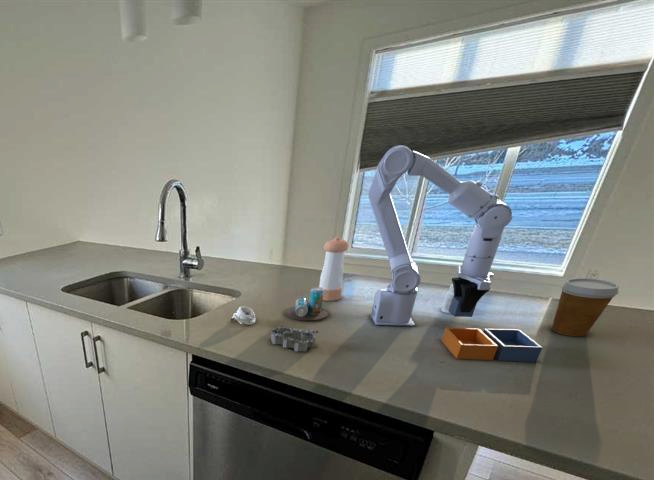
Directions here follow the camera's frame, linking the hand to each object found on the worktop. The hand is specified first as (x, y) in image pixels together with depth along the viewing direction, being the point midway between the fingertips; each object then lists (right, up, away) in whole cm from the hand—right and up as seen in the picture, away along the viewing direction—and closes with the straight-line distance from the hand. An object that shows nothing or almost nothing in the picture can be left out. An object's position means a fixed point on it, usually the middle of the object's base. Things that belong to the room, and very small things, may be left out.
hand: (461, 308), depth 105 cm
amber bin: (-6, -12, -9) cm, 16 cm away
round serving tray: (-33, +2, +18) cm, 38 cm away
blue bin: (+1, -12, -11) cm, 17 cm away
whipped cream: (-52, -1, +17) cm, 55 cm away
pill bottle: (+5, +1, +11) cm, 12 cm away
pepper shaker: (-21, +9, +29) cm, 37 cm away
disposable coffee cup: (+22, -7, -5) cm, 24 cm away
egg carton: (-44, -9, +1) cm, 45 cm away
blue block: (0, -1, +1) cm, 1 cm away
